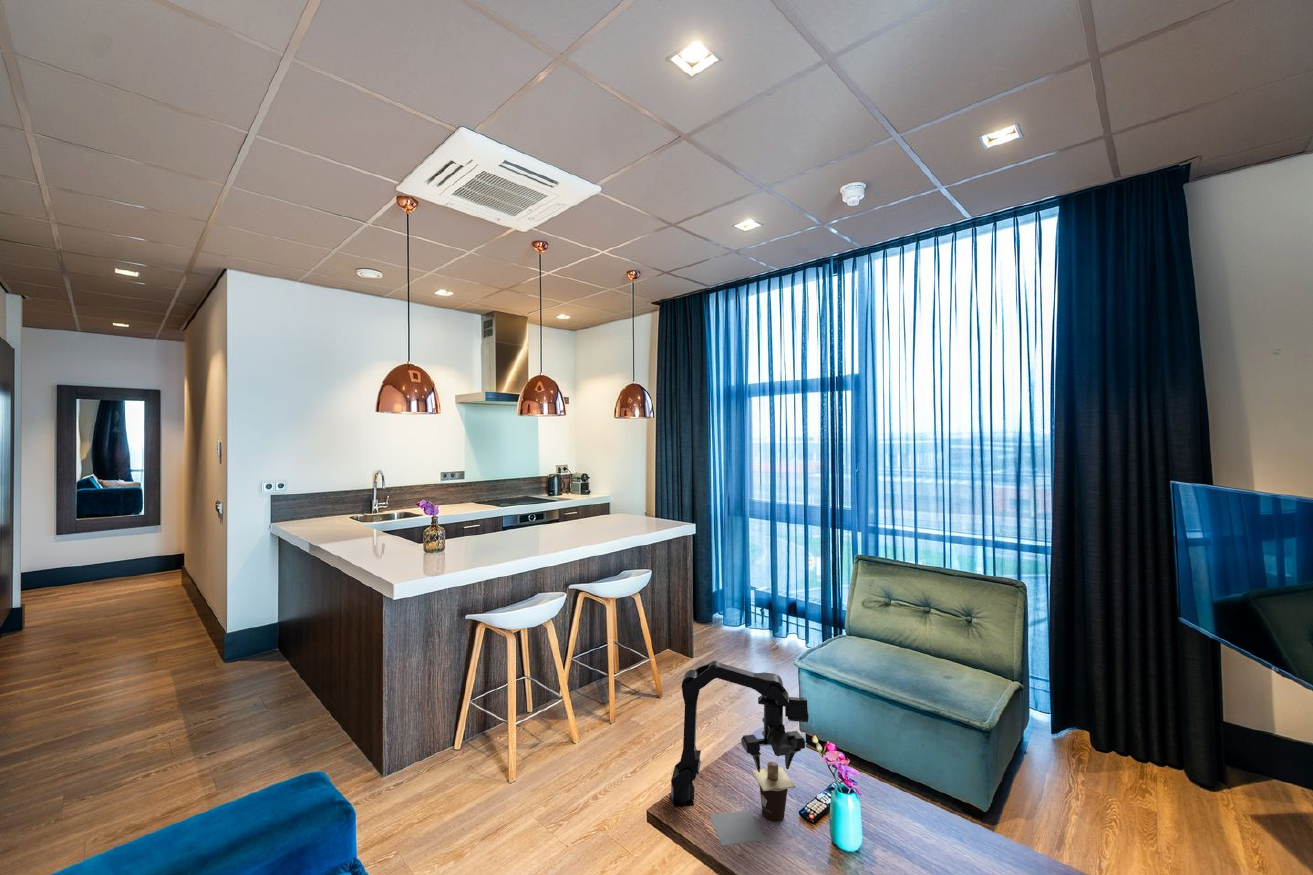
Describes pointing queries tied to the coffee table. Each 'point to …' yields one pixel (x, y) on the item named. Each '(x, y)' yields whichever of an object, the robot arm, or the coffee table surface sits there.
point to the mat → (737, 828)
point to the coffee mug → (773, 804)
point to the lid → (773, 778)
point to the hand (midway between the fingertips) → (772, 770)
